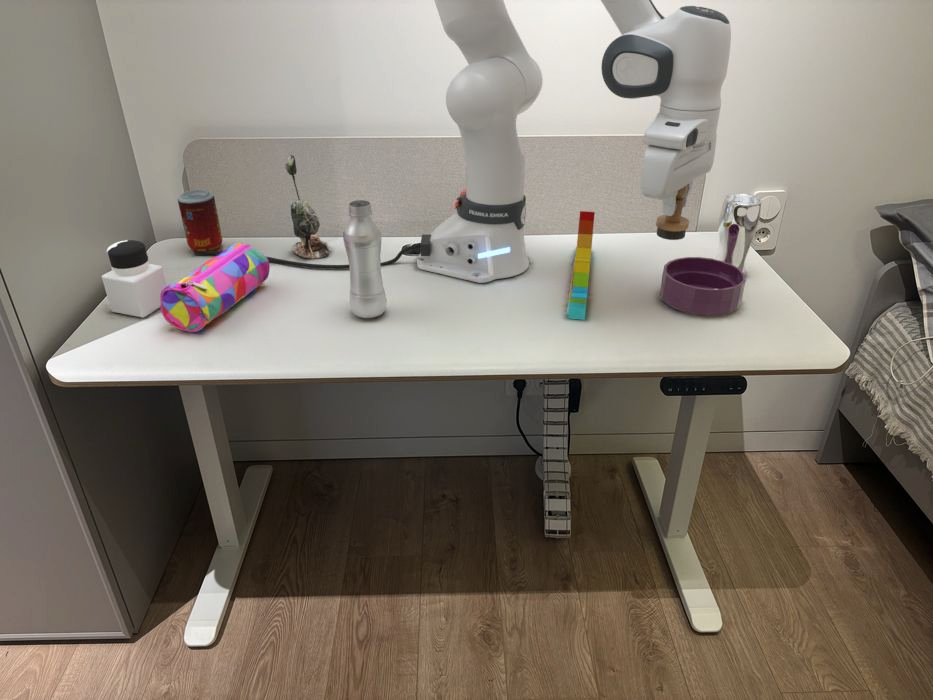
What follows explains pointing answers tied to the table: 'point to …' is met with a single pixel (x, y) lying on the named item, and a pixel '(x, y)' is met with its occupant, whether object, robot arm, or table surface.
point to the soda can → (200, 220)
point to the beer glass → (737, 228)
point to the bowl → (702, 286)
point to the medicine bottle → (133, 280)
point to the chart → (581, 267)
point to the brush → (673, 221)
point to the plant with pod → (305, 223)
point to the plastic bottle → (364, 261)
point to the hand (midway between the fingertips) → (673, 211)
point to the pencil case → (214, 287)
